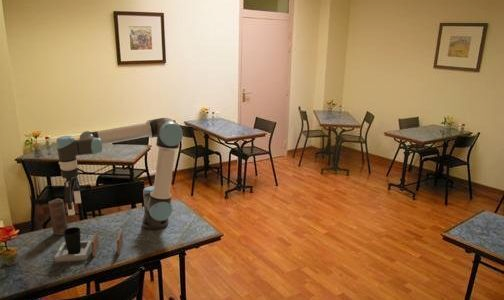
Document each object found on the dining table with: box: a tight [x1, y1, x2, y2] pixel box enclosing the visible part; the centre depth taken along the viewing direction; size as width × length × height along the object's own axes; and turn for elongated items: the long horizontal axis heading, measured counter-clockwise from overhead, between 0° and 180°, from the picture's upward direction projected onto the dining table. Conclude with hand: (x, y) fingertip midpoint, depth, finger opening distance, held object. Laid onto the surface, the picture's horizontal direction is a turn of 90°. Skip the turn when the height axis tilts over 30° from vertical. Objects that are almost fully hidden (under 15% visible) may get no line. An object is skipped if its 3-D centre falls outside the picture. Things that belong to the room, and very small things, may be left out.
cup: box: [62, 226, 81, 255], centre depth 186 cm, size 8×8×12 cm
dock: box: [54, 240, 92, 264], centre depth 187 cm, size 14×14×3 cm
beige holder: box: [91, 230, 124, 257], centre depth 191 cm, size 13×10×8 cm
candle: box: [48, 198, 69, 236], centre depth 204 cm, size 8×7×20 cm
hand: (75, 208), depth 185 cm, fingers open, 13 cm apart
